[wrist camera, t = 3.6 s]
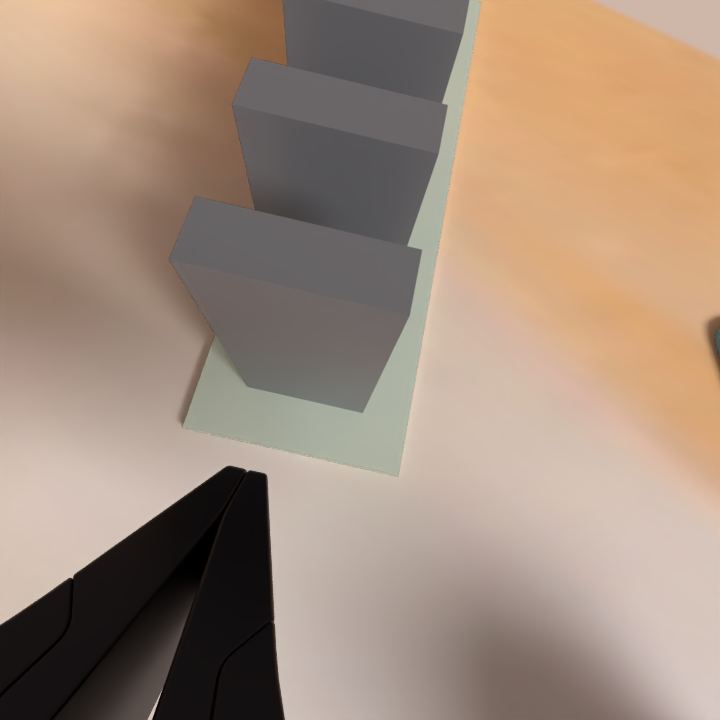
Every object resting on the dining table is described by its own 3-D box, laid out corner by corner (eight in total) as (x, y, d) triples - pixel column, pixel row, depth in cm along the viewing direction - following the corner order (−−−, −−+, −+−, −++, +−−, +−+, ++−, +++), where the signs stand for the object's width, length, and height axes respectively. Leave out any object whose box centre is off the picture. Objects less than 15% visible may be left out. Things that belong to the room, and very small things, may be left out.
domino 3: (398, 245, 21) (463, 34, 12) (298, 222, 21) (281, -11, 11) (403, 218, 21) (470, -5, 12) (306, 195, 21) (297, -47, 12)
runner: (397, 476, 18) (398, 475, 17) (184, 428, 18) (182, 427, 17) (479, 7, 28) (481, 2, 27) (344, -27, 27) (344, -32, 27)
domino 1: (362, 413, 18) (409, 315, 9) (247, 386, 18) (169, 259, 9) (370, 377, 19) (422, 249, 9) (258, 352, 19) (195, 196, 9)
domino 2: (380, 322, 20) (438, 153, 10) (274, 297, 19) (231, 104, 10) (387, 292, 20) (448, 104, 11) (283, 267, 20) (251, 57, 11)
